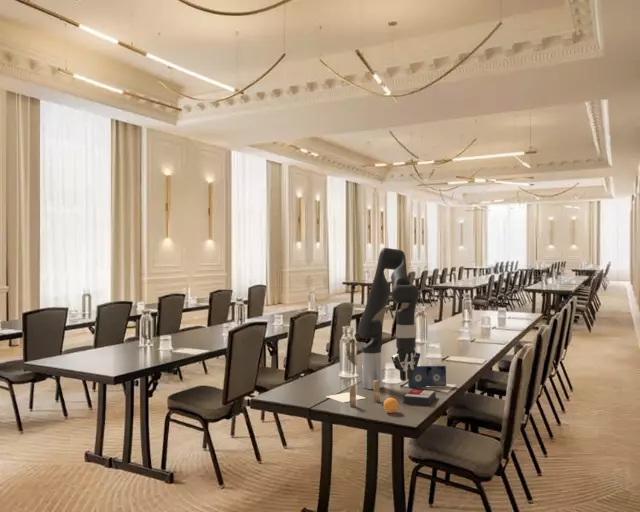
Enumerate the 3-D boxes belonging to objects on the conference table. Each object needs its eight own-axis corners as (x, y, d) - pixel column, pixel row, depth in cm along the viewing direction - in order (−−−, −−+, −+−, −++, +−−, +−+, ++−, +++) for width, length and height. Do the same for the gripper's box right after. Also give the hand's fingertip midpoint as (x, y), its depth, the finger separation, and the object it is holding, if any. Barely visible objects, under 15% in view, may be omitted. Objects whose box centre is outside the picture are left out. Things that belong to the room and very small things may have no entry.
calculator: (435, 390, 252) (428, 396, 238) (435, 400, 252) (428, 406, 238) (411, 388, 256) (403, 394, 243) (411, 398, 256) (403, 404, 242)
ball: (380, 412, 230) (380, 397, 230) (391, 409, 233) (391, 395, 233) (390, 415, 225) (390, 400, 225) (401, 413, 228) (401, 398, 228)
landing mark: (325, 396, 257) (325, 396, 257) (348, 392, 264) (348, 392, 264) (342, 402, 246) (342, 402, 246) (365, 398, 253) (365, 397, 253)
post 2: (372, 401, 247) (372, 380, 247) (377, 400, 249) (376, 380, 249) (376, 402, 245) (376, 382, 245) (380, 401, 247) (380, 381, 247)
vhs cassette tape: (445, 385, 275) (444, 365, 275) (446, 387, 272) (446, 366, 272) (407, 386, 275) (407, 366, 275) (408, 388, 272) (408, 367, 272)
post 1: (348, 406, 240) (348, 385, 240) (353, 405, 241) (353, 384, 241) (352, 407, 238) (351, 386, 238) (357, 406, 239) (356, 385, 239)
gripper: (412, 333, 228) (413, 375, 228) (385, 336, 221) (386, 380, 220) (425, 335, 222) (426, 379, 222) (398, 338, 214) (399, 384, 214)
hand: (406, 379), depth 221 cm, fingers open, 3 cm apart
